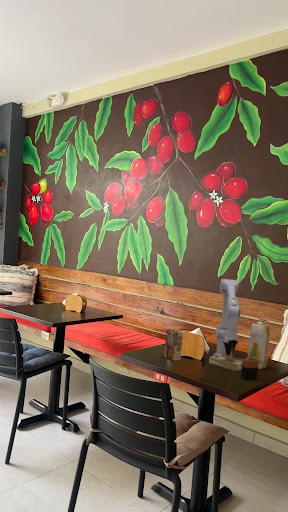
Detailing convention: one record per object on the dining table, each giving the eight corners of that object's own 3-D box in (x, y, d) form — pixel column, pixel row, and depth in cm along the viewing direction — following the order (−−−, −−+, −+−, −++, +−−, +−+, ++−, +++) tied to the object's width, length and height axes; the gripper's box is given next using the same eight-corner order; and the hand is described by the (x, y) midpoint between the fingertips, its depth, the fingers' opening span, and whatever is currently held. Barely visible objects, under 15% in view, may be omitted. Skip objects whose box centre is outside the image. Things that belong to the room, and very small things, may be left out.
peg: (226, 357, 224) (227, 342, 224) (233, 358, 222) (233, 343, 222) (224, 358, 221) (224, 343, 221) (230, 359, 219) (230, 344, 219)
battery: (257, 379, 202) (259, 358, 202) (246, 380, 199) (248, 359, 198) (250, 376, 206) (252, 356, 205) (240, 377, 202) (242, 356, 202)
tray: (221, 360, 232) (221, 353, 231) (247, 367, 221) (248, 360, 221) (208, 363, 222) (209, 357, 221) (236, 371, 211) (237, 364, 211)
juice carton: (245, 365, 225) (249, 320, 225) (252, 363, 231) (256, 320, 231) (261, 370, 219) (265, 324, 218) (268, 367, 225) (272, 323, 224)
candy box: (181, 360, 223) (183, 331, 223) (175, 361, 220) (177, 332, 220) (169, 356, 230) (172, 328, 230) (163, 356, 227) (166, 328, 227)
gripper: (229, 325, 229) (227, 350, 230) (219, 328, 217) (217, 354, 217) (242, 328, 226) (239, 353, 226) (232, 331, 213) (230, 357, 214)
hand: (229, 354), depth 221 cm, fingers closed on peg, 4 cm apart
